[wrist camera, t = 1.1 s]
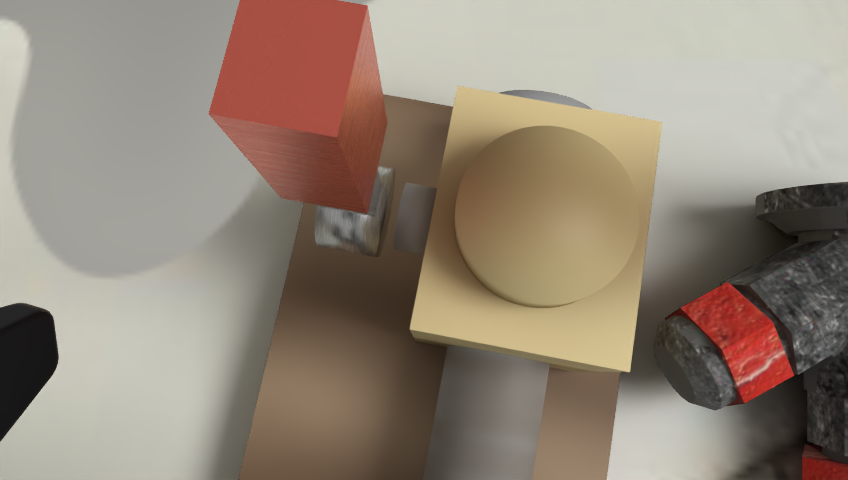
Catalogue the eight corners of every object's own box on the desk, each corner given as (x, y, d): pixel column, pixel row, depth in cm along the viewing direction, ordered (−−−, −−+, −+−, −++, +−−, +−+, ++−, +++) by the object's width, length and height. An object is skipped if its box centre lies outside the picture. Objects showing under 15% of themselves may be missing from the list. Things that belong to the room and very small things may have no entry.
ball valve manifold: (571, 638, 20) (671, 828, 12) (229, 564, 21) (94, 696, 12) (636, 156, 23) (753, 36, 15) (338, 102, 24) (288, -42, 15)
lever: (383, 264, 18) (333, 151, 9) (321, 253, 18) (205, 127, 9) (400, 184, 19) (370, -8, 9) (339, 172, 19) (247, -28, 9)
